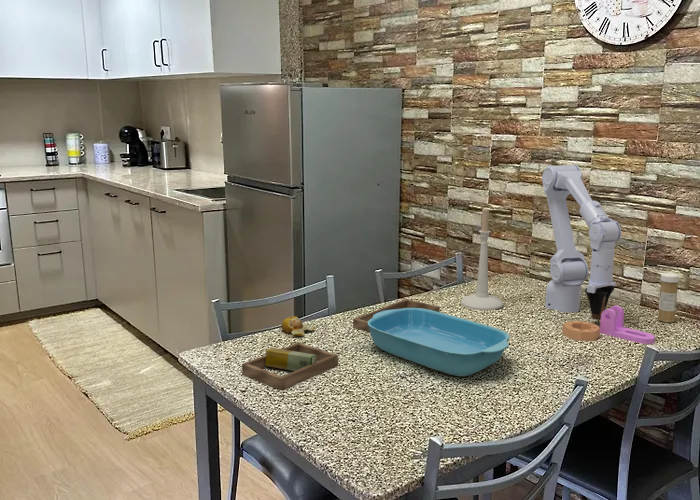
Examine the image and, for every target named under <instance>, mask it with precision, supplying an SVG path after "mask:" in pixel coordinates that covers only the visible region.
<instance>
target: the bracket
mask: <svg viewBox="0 0 700 500" xmlns="http://www.w3.org/2000/svg"><path fill="white" fill-rule="evenodd" d="M624 319H625V311H624V309H623V307H622V306H620V305H613V306H611V307H610V308H607V309H606V308H605V310H604V311H603V312H602V313H601V320H600V323H599V328H600V334H603V335H606V336H611V337H615V338H619V339H622V340H627V341H630V342H635V343H639V344H644V345H647V344H648V345H649V344H654V343H655V338H656V337H655V335H654V334H652V333H649V332H645V331H642V330H639V329H638V330H637V329H633V328H629V327H625V326H624Z"/></svg>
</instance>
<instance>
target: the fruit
mask: <svg viewBox="0 0 700 500" xmlns="http://www.w3.org/2000/svg"><path fill="white" fill-rule="evenodd" d="M280 328H281V330H282V331H283V333H285V334H287V333H288V334H290V333H291V336H300V337H301V336H302V337H303V336H305V330H308V331H313V330H315V329H316V327H315V326H306V325H303V322H302V320H301V319H300V318H299V317H298V316H295V315H293V316H289V317H286V318H284V320H282V322H281V326H280Z"/></svg>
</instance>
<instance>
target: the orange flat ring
mask: <svg viewBox="0 0 700 500" xmlns="http://www.w3.org/2000/svg"><path fill="white" fill-rule="evenodd" d="M561 332H562V334H563V335H564V336H565V337H566V338H567V339H571V340H576V341H581V342H582V341H583V342H584V341H587V342H588V341H596V340H597V339H599V338H600V337H601V335H600V334H601V333H600V326H598V325H596V324H595V323H593V322H587V321H583V320H569V321H568V320H567V321H566V322H565V323H563V324H562V331H561Z"/></svg>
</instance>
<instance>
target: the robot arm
mask: <svg viewBox="0 0 700 500" xmlns="http://www.w3.org/2000/svg"><path fill="white" fill-rule="evenodd" d="M583 176H584V175H583V171H582V170H581V168H580V166H579V165H578V164H572V165H568V164H567V165H550V164H549V165H547V166H546V167H545V168H544V170H543V173H542V175H541V181H542V185H543V191H544V195H545V196H546V199H547V205H548V210H549V215H550V220H551V221H550V222H551V227H552V231H553V238H554V243H555V247H556V252H555V254H553V256H552V257H551V258H549V259H550V260H549V263H550V269H549V271H550V272H549V273H550V274H549V275H550V277H551V280H550V281H549V282H548V283H547V286H546V289H545V290H546V291H545V305H544V307H545V309H548V310H549V309H550V310H555V311H558V312H563V313H577V312H579V311H580V307H581V292H582V285H583V284H584V282H585V280H587V279H588V277H589V279H588V284H587V285H586V288H584V292H585V294H586V296H587V298H588V299H587V300H588V302H589V303H588V304H589V309H590V313H591V315H592V314H597V315H599V314H600V312H601V308H602V304H603V300H604V298H605V296H606V298H605V308H604V310H606V308H607V305H608V302H609V299H610V297H611V295H612V293H613V292H614V290H615V286H616V285H617V282H616V281H614V275H613V272H614V263H615V261H614V260H615V249H616V242H618V241H619V240H620V239H621V237H622V229H621V225H620V224H619V222H618V221H616V220H613V218H610V217H609V215H608V214H607V213H606V211H605V210H604V208H603V207H602V205H601V202H599V201H597V200H593V198H592V197H591V195H590V194H589V191H588V190H587V188H586V186H585V184H584V182H583ZM570 195H571V196H572V197H573V199H574V200H575V201H576V202H577V204H578V205H579V207H580V208H579V214H580V215H581V217H582V219H583V220H584V222H585V223H586V225H587V227H588V229H589V230H588V237H589V239H590V244H589V246H590V248H591V258H590V259H591V260H590V269H589V265H588V263H587V262H586V260H585V255H584V254H583V253H582V252H580V251H579V250H578V249H576V245H575V239H574V235H573V229H572V224H571V220H570V215H569V209H568V204H567V198H568V196H570Z"/></svg>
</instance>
